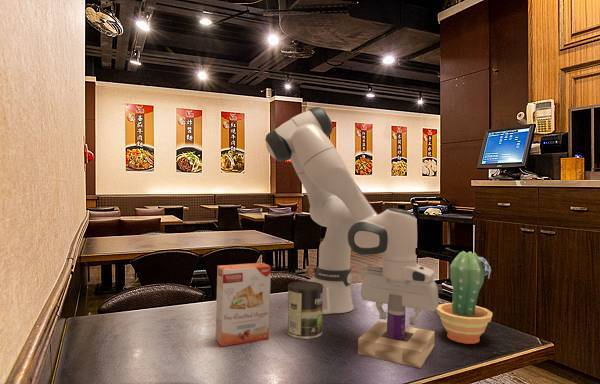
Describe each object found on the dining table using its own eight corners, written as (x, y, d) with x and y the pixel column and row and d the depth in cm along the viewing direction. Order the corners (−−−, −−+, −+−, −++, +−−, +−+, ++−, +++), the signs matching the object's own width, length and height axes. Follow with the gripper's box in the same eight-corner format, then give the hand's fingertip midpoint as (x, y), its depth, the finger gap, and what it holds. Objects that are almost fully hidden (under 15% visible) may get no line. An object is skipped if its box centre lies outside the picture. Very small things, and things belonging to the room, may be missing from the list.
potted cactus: (481, 353, 109) (483, 258, 109) (426, 337, 120) (428, 251, 119) (500, 337, 121) (502, 252, 120) (448, 324, 131) (450, 246, 131)
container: (404, 354, 107) (406, 297, 107) (386, 352, 108) (387, 295, 108) (404, 347, 112) (405, 292, 112) (386, 345, 113) (387, 291, 113)
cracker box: (221, 348, 110) (222, 269, 109) (215, 340, 115) (216, 265, 114) (270, 339, 116) (271, 265, 116) (262, 332, 121) (263, 261, 121)
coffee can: (325, 328, 125) (326, 282, 125) (317, 341, 115) (318, 291, 115) (293, 324, 128) (294, 279, 128) (282, 336, 118) (283, 287, 118)
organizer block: (358, 353, 107) (358, 338, 107) (377, 334, 121) (378, 321, 121) (420, 368, 100) (421, 351, 100) (434, 346, 114) (434, 331, 114)
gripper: (357, 267, 112) (356, 317, 113) (435, 277, 102) (434, 332, 103) (365, 263, 118) (364, 311, 118) (440, 272, 108) (439, 325, 108)
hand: (397, 321), depth 110 cm, fingers open, 7 cm apart
